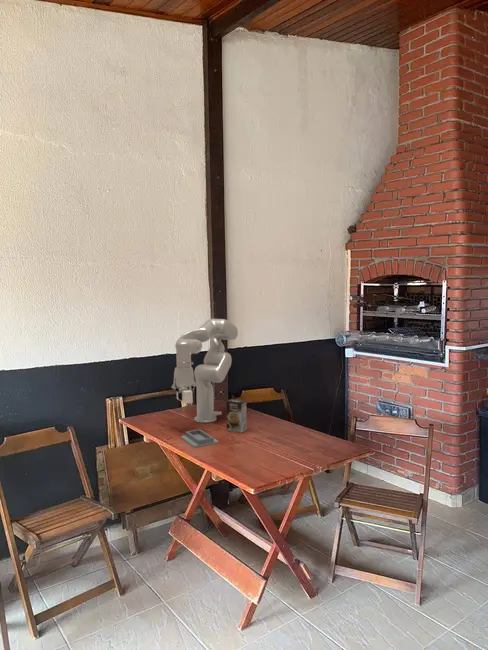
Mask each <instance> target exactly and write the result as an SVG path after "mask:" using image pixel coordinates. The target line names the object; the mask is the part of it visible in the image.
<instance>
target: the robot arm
mask: <svg viewBox="0 0 488 650" xmlns="http://www.w3.org/2000/svg"><path fill="white" fill-rule="evenodd" d="M238 336H239V331H238V328H237V326H236V325H235V324H233V323H232V322H231V321H230V320H227V319H224V318H209V319H207V320H206V321H205V322H203V324H201V325H200V326H199V327H198V328H197V329H193V330H191V331H187V332H186V333H185V332H184V334H182V335H181V336H180V337H178V339H177V340H176V342H175V345H174V346H175V351H176V355H175V356H176V367H174V371H173V384H172V385H171V389H173V390H174V391H176V393H177V392H178V399H179V400H178V399H177V400H178V401H180V400H182V393H181V389H182V387H185V388H187V389H189V390H191V391H192V392H193V389H195V388H196V416H195V417H194V419H193V420H194V422H197V423H201V424H202V423H203V424H204V423H205V424H206V423H213V422H216V421H217V418H218V417H217V416H222V415H223V414H222V413H223V412H222V411H218V410H216V411H215V410H214V409H215V407H214V403H215V402H214V400H215V398H214V397H215V396H214V386H213V385H212V383H215V384H218V383H222V382H223V381H224V380H225V378H226V376H227V374H228V372H229V370H230V368H231V366H232V355H231V353H229V352H227V351H225V350H226V349H225V345H224V344H223V342H222V340H224V341H225V340H228V341H234V340H235V339H237V338H238ZM209 340H210V347H209V348H208V350H207V352H206V354H205V355H204V358H203V364H198V365H197V366H196V367H195V369H193V367H192V365H194V362H193V361H192V355H193V354H195V355H197V354H198V353H200V352H201V351H202V350H203V349H202V348H203V343H205V342H208V341H209Z"/></svg>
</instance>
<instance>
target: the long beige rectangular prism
mask: <svg viewBox="0 0 488 650" xmlns="http://www.w3.org/2000/svg"><path fill="white" fill-rule="evenodd" d="M181 393H182V400H179V399H178V392H177V391H176V400H178V401H180V402H182V403H183V404H192V403H193V390H192V391H191V390H189V389H187V387H182V389H181Z"/></svg>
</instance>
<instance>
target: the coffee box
mask: <svg viewBox="0 0 488 650" xmlns="http://www.w3.org/2000/svg"><path fill="white" fill-rule="evenodd" d="M246 430H247V399H246V400H244V399H240V398H239V399H238V398H237V399H236V398H230V399H228V400H226V431H228V432H234V433H239V434H240V433H243V432H245V431H246Z"/></svg>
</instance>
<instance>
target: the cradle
mask: <svg viewBox="0 0 488 650" xmlns="http://www.w3.org/2000/svg"><path fill="white" fill-rule="evenodd" d="M180 439H182V440H183V441H184V442H185V443H187V444H189V445H190V446H191V447H193V448H195V449H196V448H201V447H207V446H211V445H216V444H219V443H220V441H219V440H218V439H216V438H214V437H213V436H211V435H210V434H208V433H207V432H205V431H204V430H202V429H194V430H190V431H189V430H188V431H185V435H181V436H180Z"/></svg>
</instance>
